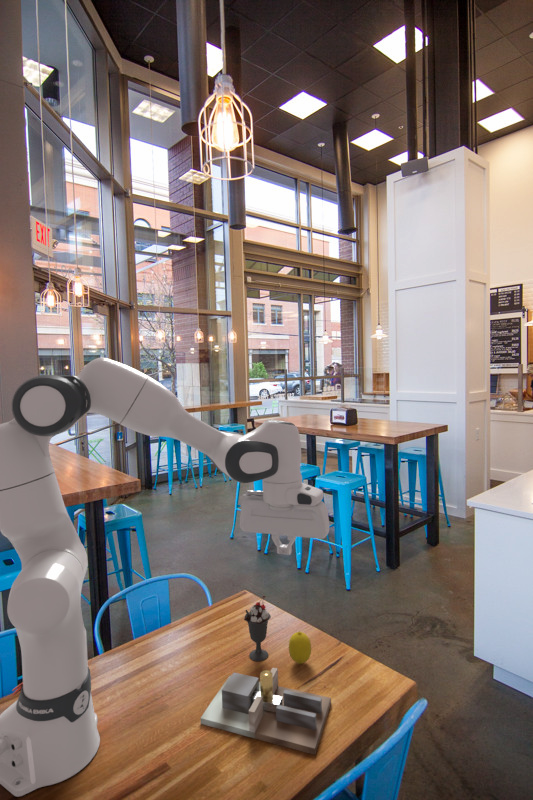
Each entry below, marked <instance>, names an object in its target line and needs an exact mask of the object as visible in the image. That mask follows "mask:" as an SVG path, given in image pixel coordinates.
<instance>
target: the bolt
mask: <svg viewBox="0 0 533 800" xmlns="http://www.w3.org/2000/svg"><path fill="white" fill-rule="evenodd" d="M259 682H260V690H261V692H258V691H254V692H253V694H252V695H251V697H250V698H251V706H252V704H253V702H254V700H255V698H256V697H257V696H261V697H263V710H267V711H271V712H275V713H276V707H277V705H282V706H283V704H282V697H280V696H276V695H273V676H272V672H271V670H267V669H266V670H262V671H261V672H260V674H259Z"/></svg>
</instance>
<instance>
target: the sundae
mask: <svg viewBox="0 0 533 800" xmlns="http://www.w3.org/2000/svg"><path fill="white" fill-rule="evenodd" d="M265 598H266V596H265V595H263V596H262V598H261V599H260V601H259V602H258V601H257V602H256V603H255V604H254V605H251V607H250V609H249V611H248V610H247V609H246V610H244V611H245V613H246V614H245V615H244V618H243V620H244V621H245V622H247V625H248V631H249V632H248V633H249V637H250V640H251V641H252V642H253V643H255V649H253V650H252V651H250V652H249V654H248V657H249V659H250V660H252V661H255V662H263V661H265V660H267V659H268V658H269V652H268V651H267V650H265V649H262V646H261V644H262V642H264V641H265V639H266V637H267V633H268V632H267V631H268V623H269V620H270V619H271V617H272V616H271V614H270V613H269V612H268V610H267V609H266V605H265V604H264V603H262V604H261V601H265Z"/></svg>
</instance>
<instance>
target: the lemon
mask: <svg viewBox="0 0 533 800" xmlns="http://www.w3.org/2000/svg"><path fill="white" fill-rule="evenodd" d="M288 653H289V656H290V658H291V660H292V661H293V662H295V663H297V664H298V665H302V664H304V663H306V662H307V661H308V660H309V659H310V657H311V654H312V644H311V639H310V638H309V636H308V634H306V633H305V632H303V631H296V632H295V633H293V634H292V635H291V636H290V639H289V641H288Z"/></svg>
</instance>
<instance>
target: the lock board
mask: <svg viewBox="0 0 533 800" xmlns="http://www.w3.org/2000/svg"><path fill="white" fill-rule="evenodd" d="M270 671H271V672H272V676H273V695H276V696H280V697H282V704H283V706H282V705H277V707H276V713H275V712H271V711H267V710H263V697H261V696H257V697H256V698H255V700H254V702H253V704H252V706H251V698H250V697H251V695H252V694H253V692H254V691H258V692H261V690H260V677H257V676H252V675H246V674H243V673H238V672H233V673H231V675H228V677H227V678H226V680H225V681H224V683H223V684H222V686H221V687H220V688H219V690H218V692H217V693H216V694H215V696H214V697H213V699H212V701H211V702H210V703H209V705H208V706H207V707H206V709H205V711H204V712H203V714H202V715H201V717H200V719H199V720H200V725H204V726H207V727H212V728H214V729H217V730H218V729H219V730H223V731H225V732H230V733H234V734H237V735H241V736H244V737H248V738H252V739H255V740H258V741H262V742H266V743H270V744H273V745H277V746H281V747H285V748H289V749H292V750H294V751H295V750H296V751H299V752H304V753H307V754H311V755H315V756H316V753H317V750H318V748H319V744H320V740H321V738H322V734H323V731H324V727H325V724H326V720H327V718H328V714H329V711H330V708H331V704H332V697H329V696H325V695H320V694H315V693H311V692H307V691H301V690H298V689H293V688H288V687H284V686H280V685H279V676H278V675H279V671H278V668H277V667H272V668H271V669H270Z"/></svg>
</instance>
